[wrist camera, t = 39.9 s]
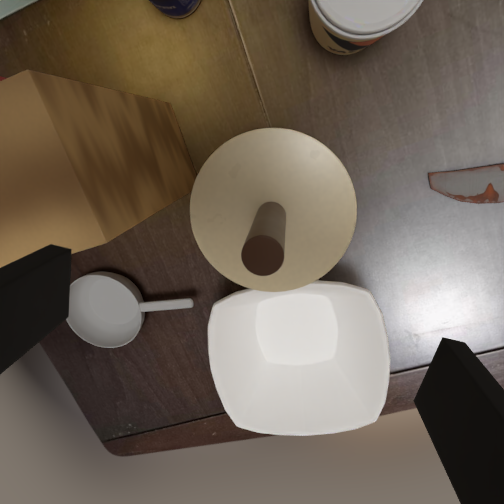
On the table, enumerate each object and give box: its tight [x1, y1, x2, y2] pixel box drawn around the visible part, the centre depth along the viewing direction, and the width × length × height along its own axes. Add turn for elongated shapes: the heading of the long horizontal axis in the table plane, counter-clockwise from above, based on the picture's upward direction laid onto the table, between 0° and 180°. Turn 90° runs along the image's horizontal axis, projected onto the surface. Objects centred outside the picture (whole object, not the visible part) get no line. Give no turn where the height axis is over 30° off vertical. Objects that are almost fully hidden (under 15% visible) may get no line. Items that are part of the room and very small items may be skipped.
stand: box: [0, 70, 197, 268], centre depth 33 cm, size 10×10×24 cm
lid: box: [190, 128, 357, 292], centre depth 25 cm, size 14×14×11 cm
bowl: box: [208, 280, 390, 436], centre depth 45 cm, size 21×21×9 cm
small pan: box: [66, 272, 194, 348], centre depth 48 cm, size 11×18×4 cm, turn 100°
